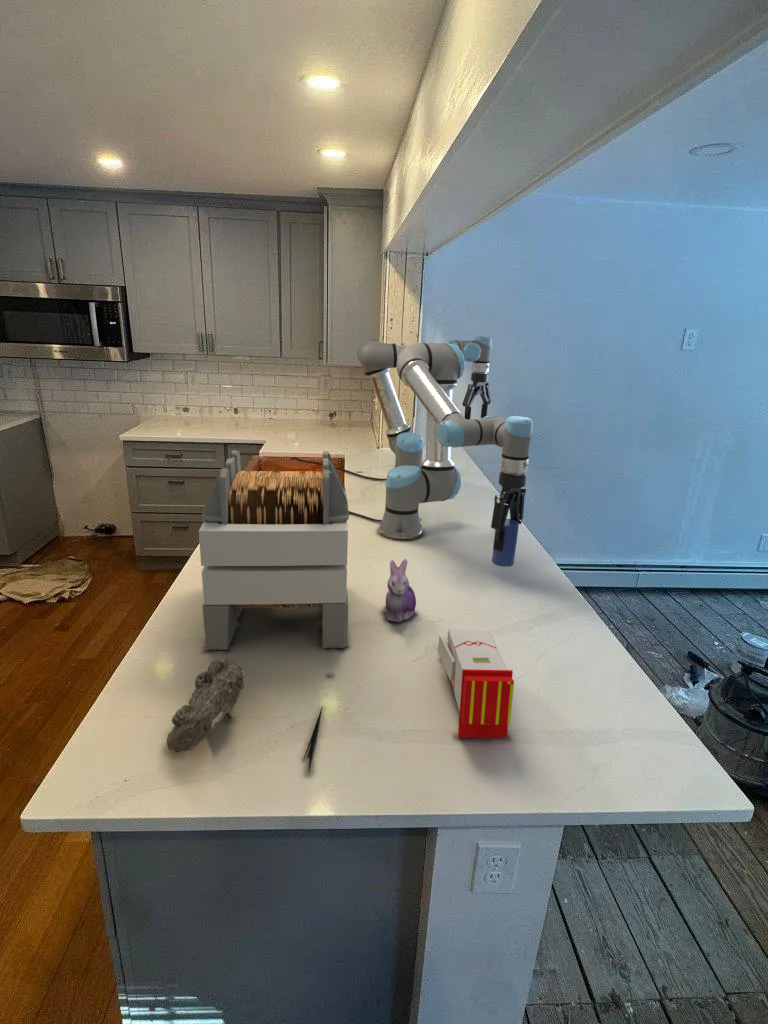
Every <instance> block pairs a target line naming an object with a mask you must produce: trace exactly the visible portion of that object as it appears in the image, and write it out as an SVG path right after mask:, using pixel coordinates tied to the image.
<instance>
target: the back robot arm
mask: <svg viewBox="0 0 768 1024" xmlns="http://www.w3.org/2000/svg"><path fill="white" fill-rule="evenodd" d="M492 341H493V340H492V337H491V336H481V335H480V336H479V335H476V336H475V337H474V339H473V340H460V339H451V340H448V342H447V343H448V344H455V345H456V346H458V347H459V348H460V350H461V351H462V353H463V356H464V361H465V362H468V363H471V375H470V381H471V382H472V383H469V384H468V385H467V389H466V392H465V395H464V398H463V401H462V407H464V416H463V417H464V418H465V419H466V420H471V417H472V404H473V402H474V400H475V398H476V397H477V396H478V395H479V396H480V398H481V401H482V404H481V413H480V419H482V418H483V417H485V416H488V409H489V405H491V403H492V397H491V391H490V382H488V381H489V371H490V363H491V362H490V361H491V353H492ZM408 345H409V344H408ZM408 345H398V344H397V343H386V342H380V341H379V340H377V339H371V338H370V339H367V340H365V341H363V342H361V344H360V345H359V346H358V349H357V354H356V355H357V360H358V361H359V364H360V363H361V364H360V365H361V367H362V370H363V372H364V375H365V377H366V378H369V379H370V382H371V385H372V388H373V391H374V393H375V396H376V399H377V402H378V405H379V407H380V411H381V413H382V416H383V418H384V422H385V425H386V427H387V429H386V431H385V434H386V437H387V440H388V446H389V448H390V450H391V452H392V453H393V454H394V455H395V461H394V462H395V463H394V468H395V467H399V466H406V465H407V466H417V467H419V468H420V469H421V467H422V462H423V451H424V445H425V444H424V438H423V436H422V435H420V434H418V433H415V432H413V429H412V426H411V424H410V423H409V422H406V419H405V416H404V413H403V410H402V407H401V405H400V401H399V398H398V394H397V392H396V389H395V387H394V383H393V381H392V377H391V375H390V369H397V359H398V357H399V354H400V353H401V352H402V350H403V349H404V348H405V347H407V346H408ZM293 460H297V461H298V462H301V463H306V464H307V463H308V464H313V465H319V466H323V462H317V461H312V460H306V459H300V458H299V457H296V456H293V457H291V458H290V461H293ZM335 467H336V469H337V471H338V470H339V471H341V472H344V473H348V474H350V475H353V476H357V477H360V478H362V479H367V480H372V481H382V482H383V481H384V482H386V480H387V477H386V478H381V477H371V476H366V475H363V474H359V473H356V472H353V471H351V470H348V469H345V468H342V467H338V466H335Z"/></svg>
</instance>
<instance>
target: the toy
mask: <svg viewBox="0 0 768 1024" xmlns="http://www.w3.org/2000/svg"><path fill="white" fill-rule="evenodd" d="M446 640H447V643H446V641H445V639H444V636H443V635H442V634H439V637H438V646H437V656H438V657H439V659H440V661H441V663H442V666H443V668H444V670H445V672H446V674H447V677H448V679H449V681H450V684H451V687H452V690H453V693H454V697H455V701H456V705H457V708H458V711H459V714H458V715H459V716H458V730H457V731H458V732H457V737H458V738H508V731H509V726H510V725H511V717H512V707H513V697H514V696H513V695H514V684H515V680H514V679H513V673H514V671H513V670H512V669H508V667H507V665H506V662H505V661H504V659H503V658H502V655H501V653H500V651H499V649H498V647H497V643H496V639H495V637H494V635H493V634H491V632H490V631H489V629H467V628H466V629H465V628H463V629H461V628H460V629H459V628H448V630H447V639H446Z"/></svg>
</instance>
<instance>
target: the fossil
mask: <svg viewBox="0 0 768 1024" xmlns="http://www.w3.org/2000/svg"><path fill="white" fill-rule="evenodd" d="M243 670H244V669H243V667H242V665H240V664H237V662H236V661H235V660H234V659H232V658H231V659H227V658H226V659H224V660H223V661H222V660H217V659H212V660H211V661H210V663H209V665H208V666H207V671H201V672H199V673H198V674H197V675H196V676H195V680H194V684H195V685H194V687H195V689H194V690H193V693H192V694H191V697H190V698H189V700H188V704H184V705H182V706H181V707H180V709H177V710H176V711H175V713H174V715H173V716H172V718H171V723H172V724H173V727H172V730H171V731H170V732H168V734H167V738H166V741H167V742H166V745H167V749H168V750H169V751H173V752H174V753H176V754H178V753H182V752H188V751H189V752H192V751H193V750H195V748H196V747H197V746H199V744H200V743H201V742H203V741H204V740H205V739H206V738H207V737H208V736H209V735H210V734H211V733H212V732H214V730H215V729H217V727H218V726H219V724H220V722H221V721H222V720H223V719H224V718H225V716H226V717H227V719H229V720H233V717H232V715H230V714H229V710H230V709H231V708H234V706H235V704H236V703H237V702H238V699H239V697H240V695H241V693H242V691H243V690H245V689H244V688H245V675H244V671H243Z"/></svg>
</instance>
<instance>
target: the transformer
mask: <svg viewBox="0 0 768 1024" xmlns="http://www.w3.org/2000/svg"><path fill="white" fill-rule="evenodd" d="M241 463H242V462H241V453H240V449H238V450H236V449H232V450H231V452H230V454H229V456H228V457H227V458H226V461H225V463H224V465H223V467H222V468H220V471H219V473H218V475H217V478H216V480H215V482H214V484H213V487H212V489H211V491H210V494H209V496H208V498H207V500H206V503H205V505H204V507H203V509H202V512H201V519H202V521H203V522H202V524H201V526H200V528H199V529H198V537H199V538H198V540H199V555H200V566H201V567H203V568H202V570H201V580H202V597H203V603H202V617H203V618H202V619H203V629H204V638H205V646H204V648H205V651H213V650H216V651H217V650H224V651H226V650H228V649H229V647H230V645H231V642H232V639H233V638H234V635H235V632H236V630H237V627H238V620H237V619H239V618H240V617H241V612H242V609H244V608H245V609H251V608H252V609H261V608H263V609H266V608H267V609H268V608H278V609H279V608H297V607H298V608H311V607H312V608H316V607H318V608H321V616H322V619H321V620H322V621H321V622H322V625H321V626H322V627H321V629H322V630H321V631H322V635H321V636H322V637H321V639H322V648H323V649H324V648H325V649H329V648H330V649H331V648H332V649H333V648H336V649H337V648H338V649H345V648H346V647H347V646H348V645H349V644H348V643H349V642H348V641H349V597H348V587H347V586H348V585H347V584H348V566H347V565H348V548H349V547H348V546H349V544H348V543H349V542H348V541H349V528H348V522H347V521H348V520H349V518H350V513H349V511H350V510H349V505H348V498H347V491H346V490H347V489H346V487H345V485H344V482H343V481H342V478H341V476H340V474H339V472H338V469H336V467H337V466H336V465H335V463H334V460H333V458H332V457H331V454H330V452H329V450H328V451H327V450H323V451H322V463H323V465H322V471H315V472H314V471H305V472H301V471H295V470H293V471H287V470H286V471H284V470H282V471H276V472H275V471H272V470H269V471H267V470H259V471H258V470H249V471H248V470H242V466H241Z"/></svg>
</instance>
